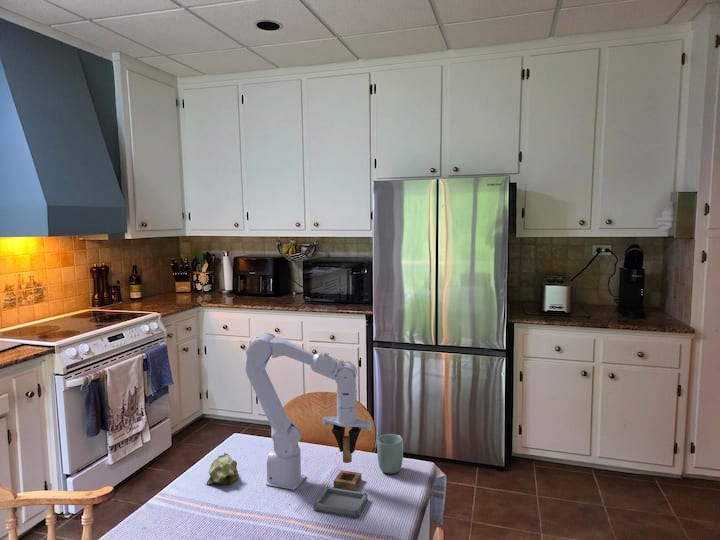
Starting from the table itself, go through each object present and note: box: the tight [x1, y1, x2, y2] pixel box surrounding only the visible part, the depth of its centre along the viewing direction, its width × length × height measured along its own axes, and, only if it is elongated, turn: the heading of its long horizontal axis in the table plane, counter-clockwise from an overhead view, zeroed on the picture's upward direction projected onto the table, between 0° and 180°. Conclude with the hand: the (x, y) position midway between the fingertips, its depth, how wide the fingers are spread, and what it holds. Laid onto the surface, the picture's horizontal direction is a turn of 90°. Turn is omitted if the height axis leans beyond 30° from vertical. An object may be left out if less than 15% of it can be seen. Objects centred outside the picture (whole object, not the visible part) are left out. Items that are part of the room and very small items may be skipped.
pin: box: [342, 435, 353, 464], centre depth 139 cm, size 3×3×7 cm
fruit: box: [206, 452, 240, 486], centre depth 142 cm, size 9×9×8 cm
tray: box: [313, 486, 368, 519], centre depth 129 cm, size 12×9×2 cm
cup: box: [376, 433, 404, 475], centre depth 147 cm, size 8×8×10 cm
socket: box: [332, 469, 362, 491], centre depth 140 cm, size 6×6×2 cm
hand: (347, 451), depth 139 cm, fingers closed on pin, 3 cm apart
